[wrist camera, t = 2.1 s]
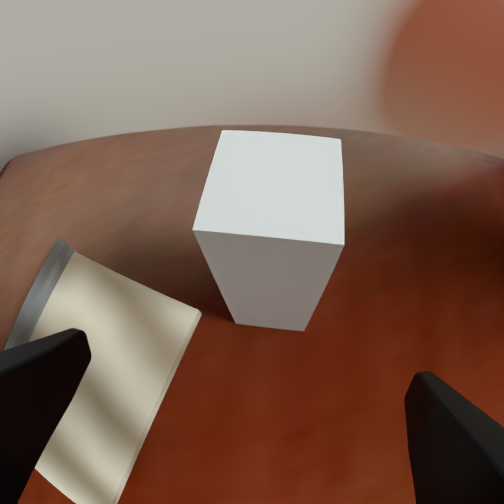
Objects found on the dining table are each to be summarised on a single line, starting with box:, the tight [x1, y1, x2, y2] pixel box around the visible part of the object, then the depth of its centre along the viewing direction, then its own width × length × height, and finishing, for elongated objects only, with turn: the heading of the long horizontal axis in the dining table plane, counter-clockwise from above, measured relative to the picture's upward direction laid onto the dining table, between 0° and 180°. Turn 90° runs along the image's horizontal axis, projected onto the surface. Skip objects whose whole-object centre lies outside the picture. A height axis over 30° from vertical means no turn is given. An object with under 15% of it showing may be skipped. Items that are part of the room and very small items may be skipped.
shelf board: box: [4, 239, 202, 504], centre depth 17 cm, size 18×13×2 cm
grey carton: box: [193, 130, 344, 331], centre depth 15 cm, size 5×4×12 cm
